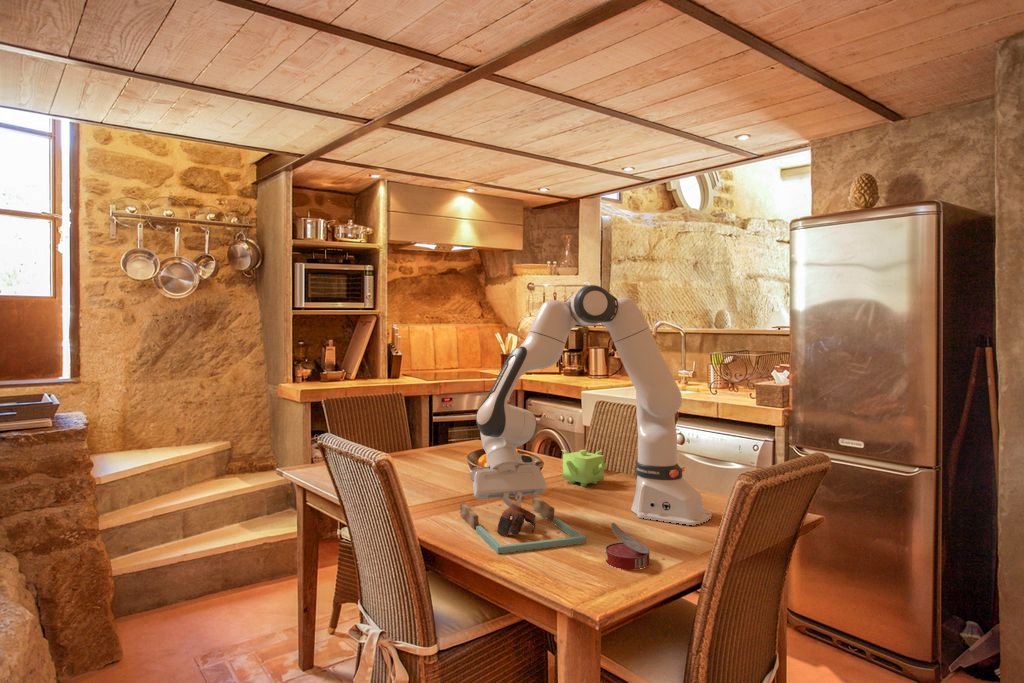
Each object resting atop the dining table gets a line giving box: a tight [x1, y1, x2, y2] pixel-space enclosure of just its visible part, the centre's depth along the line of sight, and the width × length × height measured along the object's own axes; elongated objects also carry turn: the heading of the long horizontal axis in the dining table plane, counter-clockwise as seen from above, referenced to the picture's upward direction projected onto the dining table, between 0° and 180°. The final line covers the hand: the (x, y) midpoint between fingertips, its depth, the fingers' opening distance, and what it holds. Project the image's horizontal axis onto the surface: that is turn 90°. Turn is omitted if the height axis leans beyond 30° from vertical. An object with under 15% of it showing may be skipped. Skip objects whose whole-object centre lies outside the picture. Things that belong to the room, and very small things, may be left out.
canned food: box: [605, 522, 651, 570], centre depth 150 cm, size 11×10×10 cm
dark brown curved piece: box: [496, 504, 537, 538], centre depth 169 cm, size 12×10×8 cm
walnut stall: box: [459, 496, 555, 530], centre depth 182 cm, size 13×23×4 cm, turn 110°
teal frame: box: [475, 517, 587, 555], centre depth 166 cm, size 17×23×2 cm
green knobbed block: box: [561, 449, 607, 488], centre depth 223 cm, size 15×14×11 cm
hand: (515, 509), depth 176 cm, fingers closed
